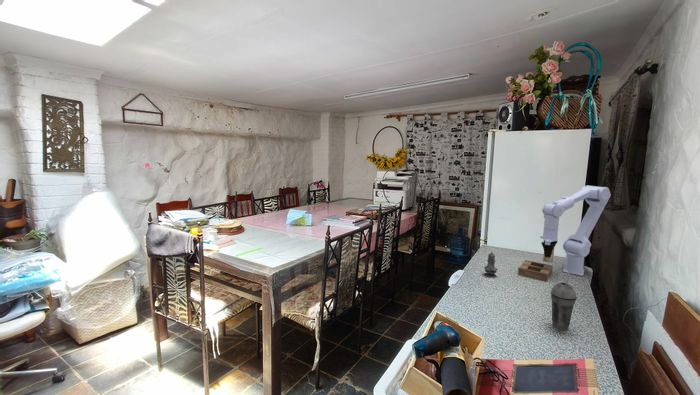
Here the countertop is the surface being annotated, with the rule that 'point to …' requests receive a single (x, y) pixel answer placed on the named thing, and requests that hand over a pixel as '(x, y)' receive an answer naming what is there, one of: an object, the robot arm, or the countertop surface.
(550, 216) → the robot arm
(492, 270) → the grey chess piece
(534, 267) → the block
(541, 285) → the countertop surface
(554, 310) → the beverage cup
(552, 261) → the beech pin
